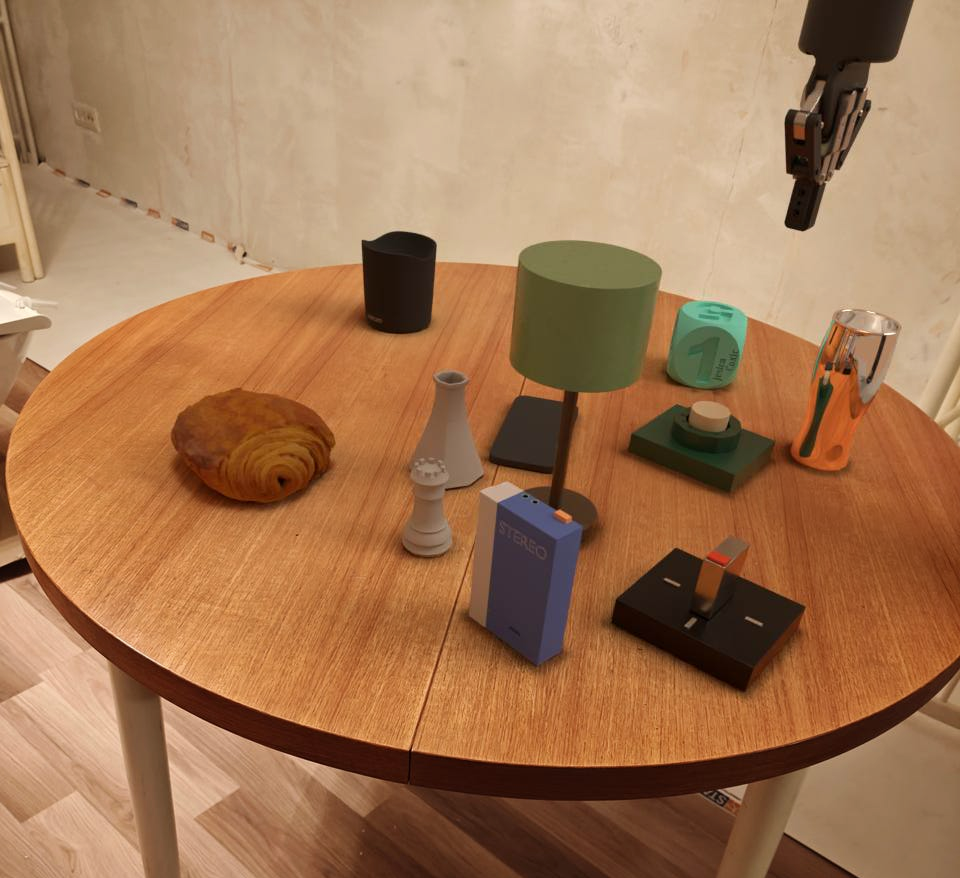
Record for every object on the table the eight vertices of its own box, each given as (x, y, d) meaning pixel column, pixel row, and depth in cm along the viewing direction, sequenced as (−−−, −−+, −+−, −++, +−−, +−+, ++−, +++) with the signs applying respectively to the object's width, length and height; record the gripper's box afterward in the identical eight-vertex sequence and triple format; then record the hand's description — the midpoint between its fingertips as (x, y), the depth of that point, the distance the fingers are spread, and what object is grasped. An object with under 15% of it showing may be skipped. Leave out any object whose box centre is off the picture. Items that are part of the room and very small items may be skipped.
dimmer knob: (714, 585, 73) (730, 531, 69) (734, 594, 72) (751, 541, 68) (688, 610, 70) (704, 555, 66) (708, 620, 69) (725, 565, 66)
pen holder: (359, 308, 120) (358, 230, 113) (428, 308, 121) (431, 231, 115) (365, 335, 113) (364, 254, 106) (438, 335, 115) (441, 255, 108)
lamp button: (732, 425, 93) (737, 409, 92) (715, 437, 90) (719, 422, 89) (699, 412, 94) (702, 397, 93) (681, 424, 92) (684, 408, 91)
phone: (486, 455, 90) (516, 393, 101) (485, 463, 90) (515, 400, 101) (557, 468, 89) (580, 404, 100) (556, 476, 89) (579, 411, 100)
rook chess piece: (394, 552, 77) (394, 472, 72) (412, 526, 81) (414, 447, 75) (442, 564, 76) (446, 483, 71) (458, 537, 80) (463, 458, 75)
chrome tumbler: (773, 452, 96) (817, 316, 87) (808, 435, 100) (853, 302, 90) (829, 480, 93) (881, 340, 83) (863, 461, 96) (917, 325, 87)
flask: (395, 466, 88) (396, 371, 82) (451, 447, 92) (456, 354, 86) (439, 498, 84) (444, 401, 78) (497, 477, 88) (505, 382, 82)
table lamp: (632, 521, 84) (688, 266, 68) (568, 571, 77) (613, 300, 62) (538, 479, 89) (570, 231, 73) (470, 522, 82) (489, 259, 66)
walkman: (561, 651, 69) (584, 521, 61) (537, 666, 67) (557, 535, 59) (492, 602, 73) (505, 474, 65) (467, 615, 71) (478, 486, 64)
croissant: (217, 541, 80) (208, 470, 74) (157, 444, 88) (144, 374, 82) (359, 499, 87) (361, 430, 81) (291, 412, 94) (289, 344, 89)
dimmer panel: (796, 630, 73) (807, 604, 71) (744, 692, 67) (754, 666, 65) (669, 570, 78) (676, 545, 76) (610, 623, 72) (615, 597, 70)
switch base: (770, 459, 95) (781, 425, 93) (729, 493, 89) (739, 458, 86) (672, 421, 100) (680, 388, 98) (627, 451, 94) (634, 417, 92)
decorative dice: (665, 384, 108) (680, 319, 103) (666, 359, 114) (680, 296, 109) (731, 394, 107) (749, 329, 102) (729, 367, 113) (745, 305, 108)
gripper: (885, -12, 60) (809, 254, 71) (942, -15, 68) (866, 223, 80) (782, -23, 63) (725, 232, 75) (848, -25, 72) (788, 205, 83)
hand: (798, 227), depth 77 cm, fingers closed
